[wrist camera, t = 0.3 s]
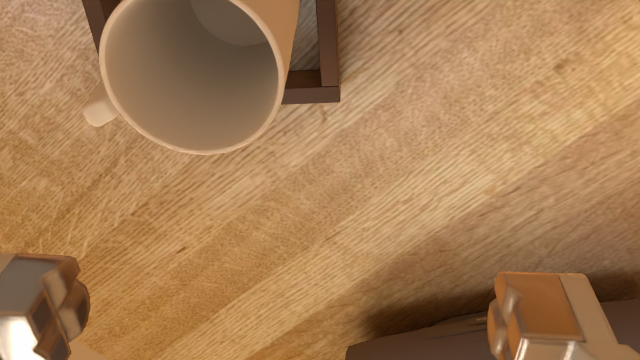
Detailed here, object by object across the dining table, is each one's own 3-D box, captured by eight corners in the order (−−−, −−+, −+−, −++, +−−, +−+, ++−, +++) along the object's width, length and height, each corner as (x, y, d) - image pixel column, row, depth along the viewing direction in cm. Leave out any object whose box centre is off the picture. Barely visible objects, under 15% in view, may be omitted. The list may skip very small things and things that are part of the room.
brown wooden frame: (77, -95, 28) (55, -88, 26) (331, -112, 27) (330, -106, 25) (128, 93, 34) (114, 111, 32) (340, 84, 33) (340, 102, 31)
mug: (268, -104, 28) (222, -58, 18) (327, 17, 31) (317, 115, 21) (109, -14, 30) (-9, 71, 20) (178, 89, 34) (106, 205, 24)
